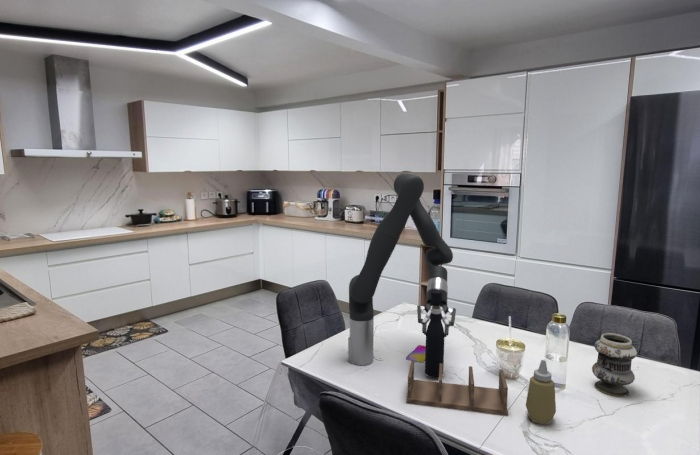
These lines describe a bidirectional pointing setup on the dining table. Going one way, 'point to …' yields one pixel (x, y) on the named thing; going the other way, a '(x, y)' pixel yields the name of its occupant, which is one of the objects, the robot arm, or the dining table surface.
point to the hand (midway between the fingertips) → (435, 335)
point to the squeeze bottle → (541, 396)
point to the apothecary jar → (614, 364)
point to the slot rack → (458, 394)
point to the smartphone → (417, 354)
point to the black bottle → (434, 338)
